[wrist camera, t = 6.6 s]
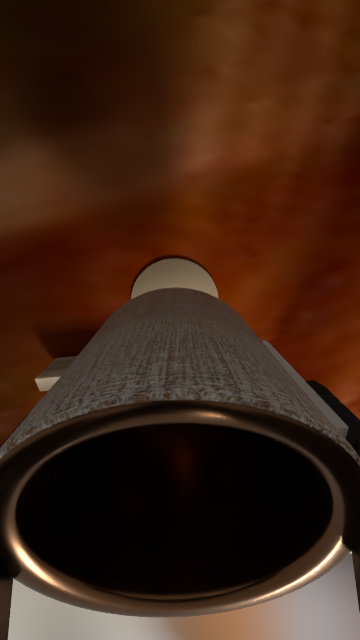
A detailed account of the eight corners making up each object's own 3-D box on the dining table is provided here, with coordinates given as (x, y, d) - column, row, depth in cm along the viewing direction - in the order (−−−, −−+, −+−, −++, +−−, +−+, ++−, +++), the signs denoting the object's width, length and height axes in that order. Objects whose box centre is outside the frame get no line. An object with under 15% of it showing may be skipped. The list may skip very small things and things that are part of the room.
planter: (239, 265, 12) (426, 329, 3) (256, 399, 16) (361, 597, 7) (74, 307, 13) (-161, 455, 4) (129, 425, 17) (77, 636, 8)
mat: (123, 263, 25) (122, 263, 25) (216, 253, 25) (217, 253, 25) (139, 345, 30) (139, 346, 29) (218, 337, 29) (219, 338, 29)
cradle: (56, 358, 30) (34, 379, 25) (147, 348, 30) (141, 368, 25) (85, 434, 36) (72, 463, 31) (161, 427, 36) (159, 454, 31)
